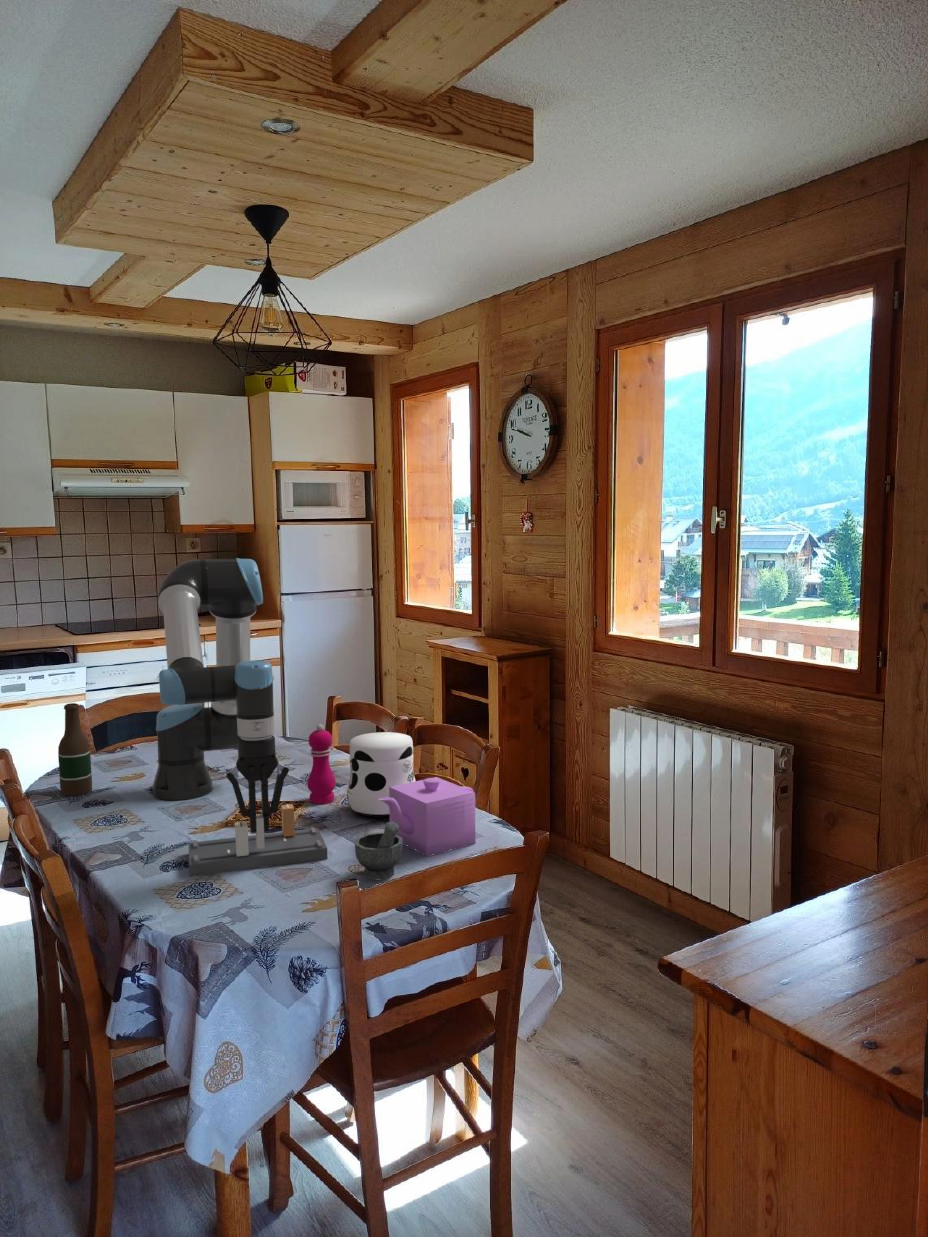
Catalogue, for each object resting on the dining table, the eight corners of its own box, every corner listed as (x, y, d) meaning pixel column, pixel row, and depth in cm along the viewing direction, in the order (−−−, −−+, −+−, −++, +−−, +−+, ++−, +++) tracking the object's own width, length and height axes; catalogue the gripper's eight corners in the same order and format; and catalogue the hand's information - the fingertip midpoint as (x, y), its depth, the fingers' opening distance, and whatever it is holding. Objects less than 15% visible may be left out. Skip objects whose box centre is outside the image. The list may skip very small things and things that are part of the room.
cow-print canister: (432, 809, 220) (431, 738, 218) (379, 827, 207) (378, 752, 205) (385, 795, 232) (383, 727, 230) (333, 811, 219) (331, 740, 217)
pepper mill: (330, 805, 224) (328, 728, 221) (303, 804, 225) (301, 727, 223) (340, 797, 231) (338, 721, 228) (313, 795, 232) (311, 720, 230)
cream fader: (235, 851, 186) (234, 822, 185) (247, 850, 187) (246, 821, 186) (236, 856, 183) (235, 827, 182) (248, 855, 184) (247, 825, 183)
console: (188, 853, 192) (188, 840, 192) (318, 838, 201) (317, 825, 200) (189, 876, 180) (189, 862, 180) (327, 858, 188) (327, 845, 188)
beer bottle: (54, 795, 235) (48, 706, 232) (76, 787, 242) (71, 700, 239) (76, 798, 232) (70, 708, 229) (98, 790, 239) (93, 702, 236)
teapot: (362, 844, 197) (360, 782, 196) (454, 821, 212) (453, 763, 210) (398, 865, 185) (397, 799, 183) (493, 839, 200) (492, 778, 198)
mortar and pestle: (347, 872, 181) (345, 815, 180) (385, 860, 187) (384, 805, 186) (376, 889, 173) (375, 830, 171) (416, 877, 178) (415, 819, 177)
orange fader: (282, 832, 197) (281, 804, 196) (293, 831, 198) (292, 803, 197) (283, 836, 194) (282, 808, 194) (294, 835, 195) (294, 807, 194)
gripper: (224, 743, 178) (229, 856, 180) (290, 737, 182) (294, 848, 184) (222, 734, 185) (227, 844, 187) (285, 729, 189) (289, 836, 191)
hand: (260, 846), depth 186 cm, fingers closed
